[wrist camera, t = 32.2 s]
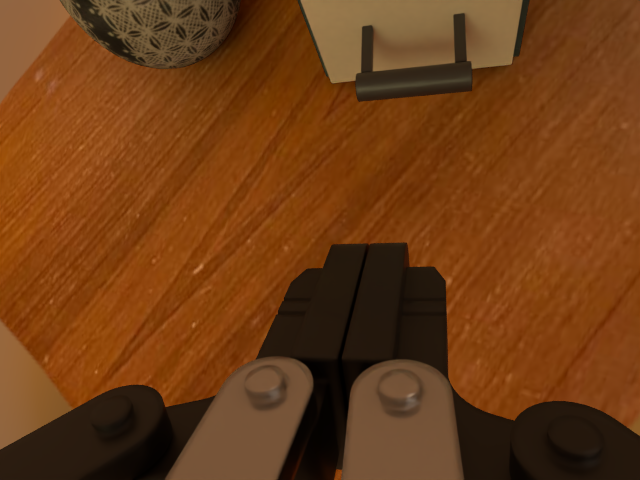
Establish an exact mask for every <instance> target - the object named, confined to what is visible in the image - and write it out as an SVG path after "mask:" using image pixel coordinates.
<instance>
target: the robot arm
mask: <svg viewBox="0 0 640 480" xmlns="http://www.w3.org/2000/svg"><path fill="white" fill-rule="evenodd" d="M336 469H340V470H342V477H341V480H640V436H639V435H637V434H636V433H634V432H633V431H631V430H630V429H629V428H627V427H626V426H624V425H623V424H621V423H620V422H619V421H617V420H616V419H614V418H612V417H611V416H609V415H607V414H606V413H604V412H602V411H600V410H597V409H595V408H592V407H589V406H587V405H583V404H579V403H574V402H566V401H551V402H543V403H540V404H536V405H534V406H531V407H529V408H527V409H526V410H524V411H523V412H521V413H520V414H519V416H518V417H517V418H516V419H515V421H513V420H510V419H506V418H503V417H500V416H496V415H493V414H490V413H487V412H485V411H482V410H480V409H478V408H476V407H474V406H472V405H471V404H469V403H468V402H466V401H465V400H464V399H463V398H461V397H460V396H459V395H458V394H457V392H456V391H455V390H454V389H453V387H452V385H451V384H450V381H449V379H448V342H447V312H446V281H445V280H444V278H443V277H442V276H441V275H440V273H439V272H438V271H437V270H436V268H435V267H409V254H408V245H407V243H373V244H370V246H369V244H333V245H332V246H331V248H330V251H329V253H328V256H327V258H326V261H325V264H324V266H323V268H312V269H306V270H305V271H304V272H303V273H302V274H300V275H299V276H298V277H297V278H296V279H295V280H293V281H292V282H291V284H290V286H289V288H288V291H287V293H286V295H285V297H284V301H282V304H281V306H280V308H279V310H278V315H276V317H275V319H274V321H273V323H272V325H271V327H270V330H269V332H268V334H267V336H266V338H265V340H264V343H263V345H262V347H261V349H260V351H259V353H258V356H257V358H256V360H254V361H251V362H249V363H247V364H245V365H243V366H241V367H240V368H238V369H237V370H235V371H234V372H233V373H232V374H231V375H230V376H229V377H228V378H227V379H226V381H225V382H224V383H223V385H222V387H221V388H220V390H219V392H218V393H217V395H215V396H213V397H210V398H206V399H202V400H198V401H193V402H188V403H183V404H179V405H174V406H169V407H165V405H164V402H163V399H162V397H161V395H160V394H159V392H157V391H156V390H155V389H153V388H151V387H148V386H144V385H128V386H122V387H118V388H115V389H112V390H109V391H107V392H105V393H103V394H101V395H99V396H97V397H95V398H93V399H91V400H90V401H88V402H86V403H84V404H82V405H80V406H79V407H77V408H75V409H73V410H71V411H70V412H68V413H66V414H64V415H62V416H61V417H59V418H57V419H55V420H53V421H51V422H50V423H48V424H46V425H44V426H42V427H41V428H39V429H37V430H35V431H34V432H32V433H30V434H28V435H26V436H24V437H22V438H21V439H19V440H17V441H15V442H14V443H12V444H10V445H8V446H6V447H4V448H3V449H1V450H0V480H334V477H335V472H336Z"/></svg>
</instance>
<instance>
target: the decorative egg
mask: <svg viewBox="0 0 640 480" xmlns="http://www.w3.org/2000/svg"><path fill="white" fill-rule="evenodd" d="M240 1H241V0H60V2H61V3H62V4H63V6H64V7H65V8H66V10H67V11H68V13H69V14H70V15H71V16H72V18H73V19H74V20H75V21H76V22H77V23H78V25H79V26H80V27H81V28H82V29H83V30H84V31H85V32H86V33H87V34H88V35H89V36H90V37H92V38H93V39H94V40H95V41H96V42H98V43H99V44H100V45H101V46H103V47H104V48H106V49H107V50H109V51H110V52H112V53H113V54H115V55H117V56H119V57H121V58H123V59H125V60H127V61H129V62H132V63H135V64H138V65H142V66H146V67H151V68H157V69H172V68H180V67H185V66H188V65H191V64H194V63H196V62H198V61H200V60H202V59H204V58H205V57H207V56H208V55H210V54H211V53H212V52H214V51H215V50H216V49H217V48H218V47H219V46H220V45H221V44H222V43H223V41H224V40H225V39H226V37H227V36H228V35H229V33H230V31H231V29H232V27H233V25H234V23H235V20H236V18H237V14H238V11H239V7H240Z"/></svg>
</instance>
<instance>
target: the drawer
mask: <svg viewBox="0 0 640 480" xmlns="http://www.w3.org/2000/svg"><path fill="white" fill-rule="evenodd" d="M522 1H523V0H301V3H302V6H303V8H304V11H305V14H306V16H307V19H308V22H309V24H310V27H311V30H312V32H313V35H314V38H315V40H316V43H317V46H318V49H319V51H320V54H321V57H322V59H323V62H324V65H325V67H326V70H327V73H328V75H329V78H330V81H331V83H340V82H349V81H355V85H356V95H357V99H358V101H359V102H360V101H371V100H382V99H392V98H403V97H413V96H424V95H435V94H445V93H456V92H466V91H472V69H474V68H484V67H493V66H503V65H511V64H512V60H513V54H514V48H515V42H516V36H517V30H518V25H519V19H520V13H521V7H522Z"/></svg>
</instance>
